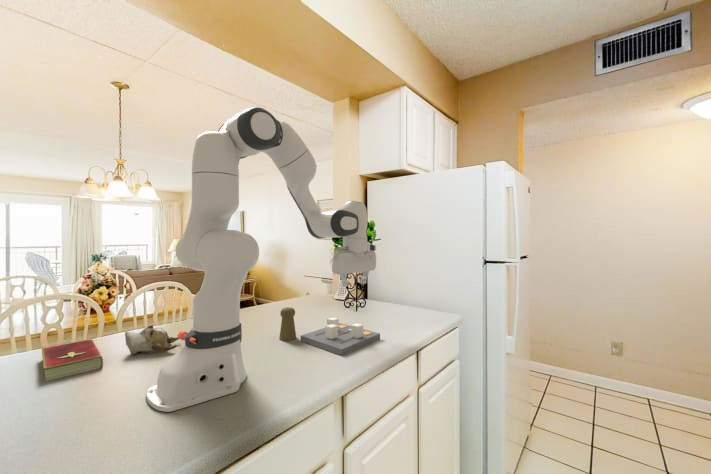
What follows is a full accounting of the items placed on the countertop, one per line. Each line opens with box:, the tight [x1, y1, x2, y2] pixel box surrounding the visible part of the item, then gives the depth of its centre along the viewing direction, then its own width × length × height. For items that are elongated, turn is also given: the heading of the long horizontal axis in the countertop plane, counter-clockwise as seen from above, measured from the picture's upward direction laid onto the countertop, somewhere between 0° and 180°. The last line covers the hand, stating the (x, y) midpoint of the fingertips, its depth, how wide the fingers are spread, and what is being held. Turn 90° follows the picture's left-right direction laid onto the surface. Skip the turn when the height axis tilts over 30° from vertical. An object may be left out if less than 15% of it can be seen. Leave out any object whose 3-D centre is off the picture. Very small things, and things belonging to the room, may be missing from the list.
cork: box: [279, 307, 297, 342], centre depth 114 cm, size 6×6×11 cm
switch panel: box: [300, 322, 381, 356], centre depth 112 cm, size 20×20×2 cm
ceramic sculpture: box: [124, 325, 180, 355], centre depth 102 cm, size 11×9×15 cm
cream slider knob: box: [350, 322, 364, 338], centre depth 110 cm, size 3×3×4 cm
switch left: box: [326, 317, 339, 326], centre depth 117 cm, size 3×3×4 cm
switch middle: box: [324, 324, 338, 339], centre depth 109 cm, size 3×3×4 cm
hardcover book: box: [41, 338, 104, 382], centre depth 93 cm, size 12×21×4 cm, turn 46°
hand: (354, 284), depth 114 cm, fingers open, 8 cm apart
